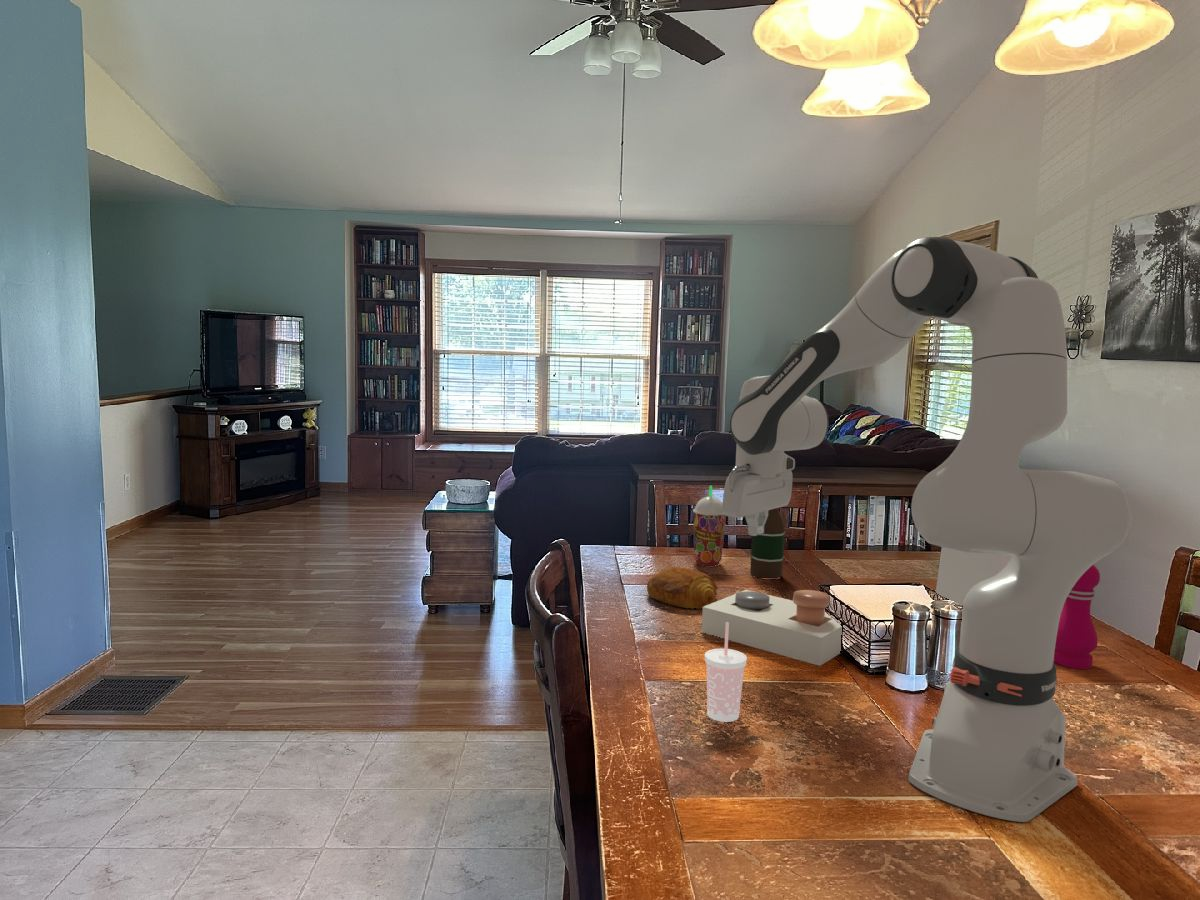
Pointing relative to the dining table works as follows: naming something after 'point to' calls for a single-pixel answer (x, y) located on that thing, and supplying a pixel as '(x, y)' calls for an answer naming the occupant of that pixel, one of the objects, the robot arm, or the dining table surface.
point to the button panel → (774, 629)
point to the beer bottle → (769, 547)
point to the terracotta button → (811, 606)
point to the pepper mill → (1077, 624)
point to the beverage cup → (724, 681)
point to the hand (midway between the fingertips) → (755, 534)
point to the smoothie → (708, 530)
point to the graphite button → (752, 600)
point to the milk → (966, 571)
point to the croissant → (683, 588)
